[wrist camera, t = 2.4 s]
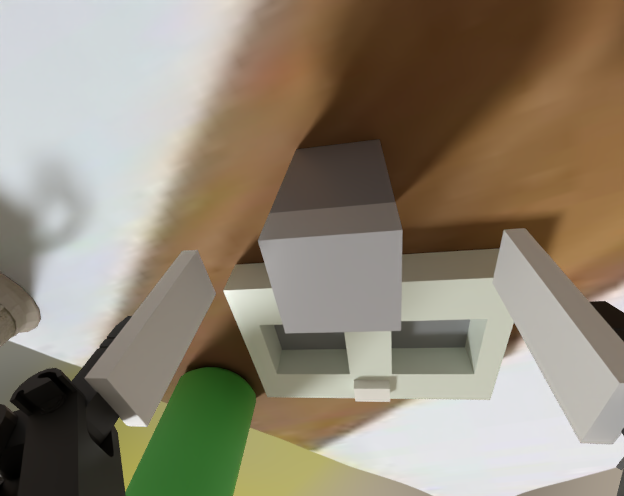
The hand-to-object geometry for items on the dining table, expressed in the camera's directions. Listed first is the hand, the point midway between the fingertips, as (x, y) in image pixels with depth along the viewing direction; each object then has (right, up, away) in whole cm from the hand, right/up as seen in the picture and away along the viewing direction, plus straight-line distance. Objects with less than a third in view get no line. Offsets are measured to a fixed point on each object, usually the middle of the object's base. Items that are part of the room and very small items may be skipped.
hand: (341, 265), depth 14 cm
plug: (+1, +5, +6) cm, 8 cm away
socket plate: (+3, -6, +13) cm, 15 cm away
